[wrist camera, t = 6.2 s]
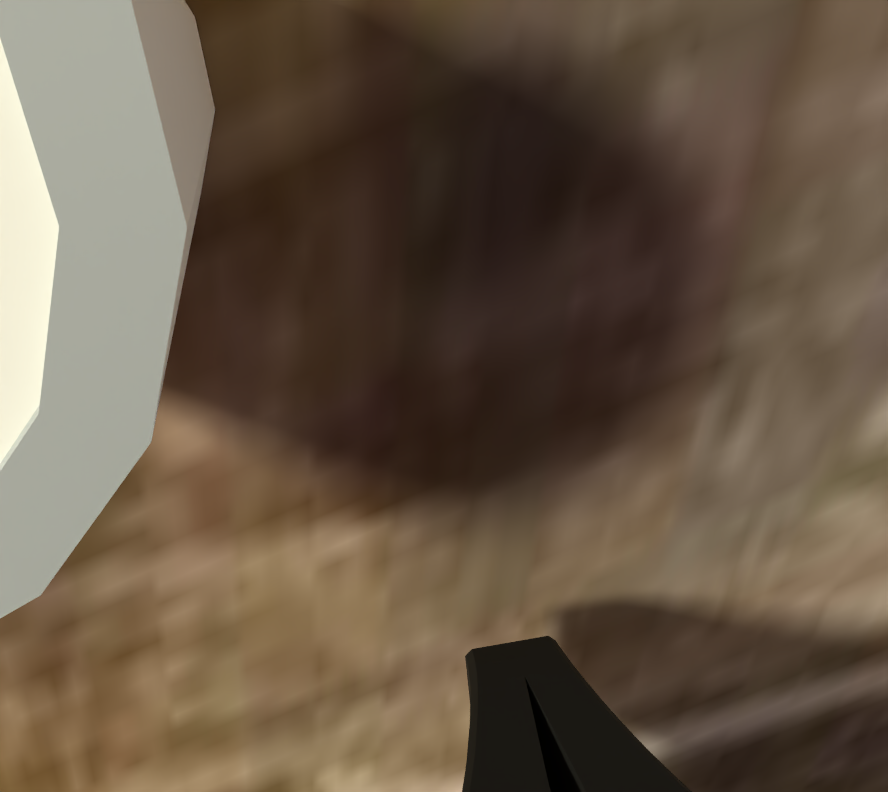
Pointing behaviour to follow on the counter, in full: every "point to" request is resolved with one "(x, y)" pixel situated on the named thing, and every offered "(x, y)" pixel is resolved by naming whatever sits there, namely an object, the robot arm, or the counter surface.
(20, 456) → the white cup
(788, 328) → the counter surface
